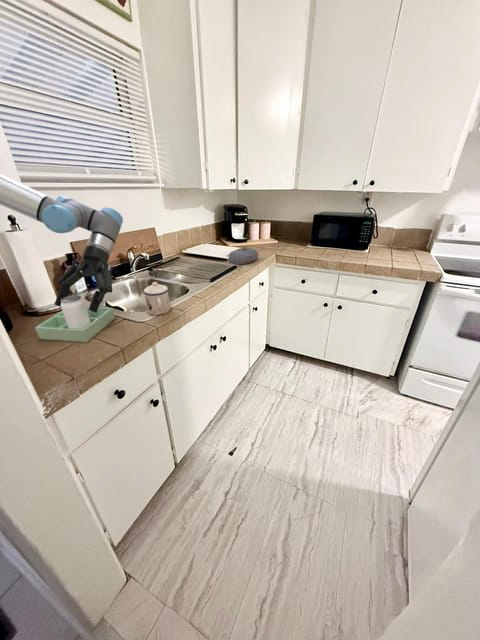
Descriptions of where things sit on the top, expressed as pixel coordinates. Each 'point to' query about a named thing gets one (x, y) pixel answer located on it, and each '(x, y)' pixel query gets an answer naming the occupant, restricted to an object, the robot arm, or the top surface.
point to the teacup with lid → (157, 299)
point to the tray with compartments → (60, 331)
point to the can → (75, 312)
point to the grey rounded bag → (243, 256)
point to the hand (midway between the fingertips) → (75, 308)
